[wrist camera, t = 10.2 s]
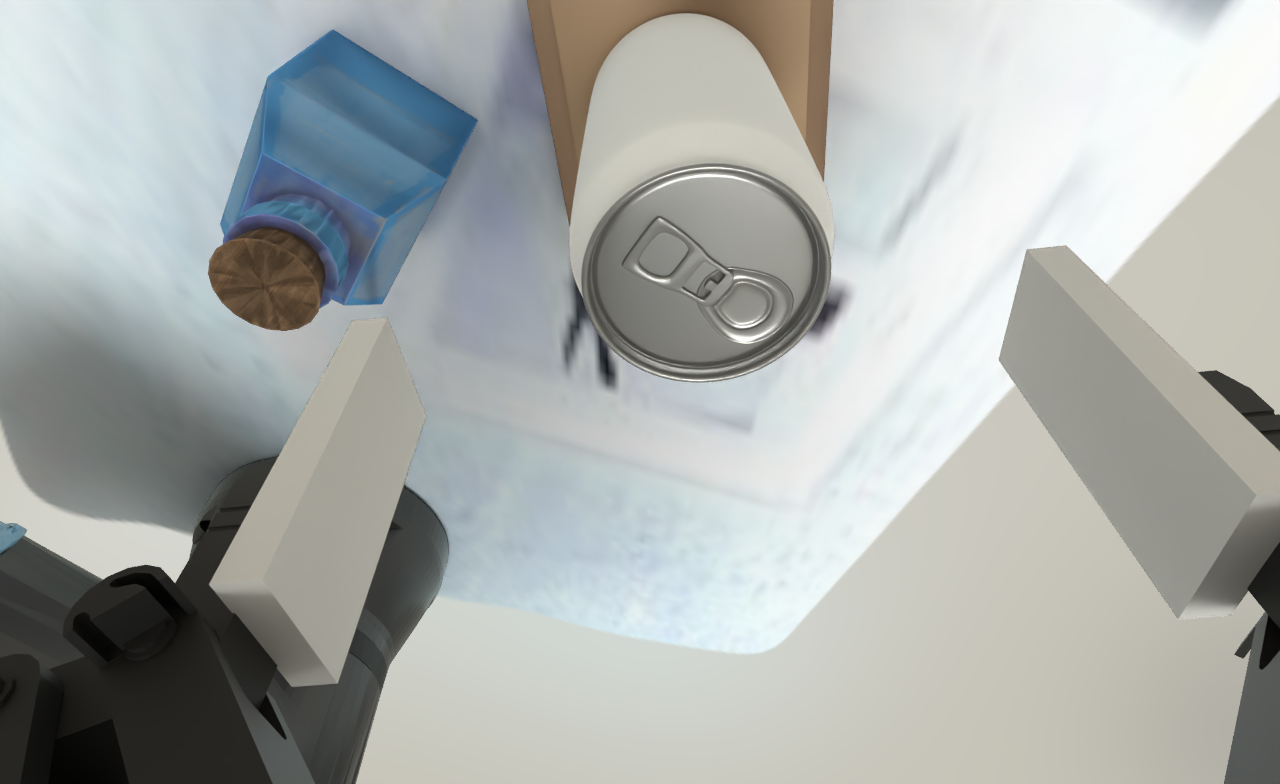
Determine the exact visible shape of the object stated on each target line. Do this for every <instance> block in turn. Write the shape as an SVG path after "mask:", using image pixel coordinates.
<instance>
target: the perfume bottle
mask: <svg viewBox="0 0 1280 784" xmlns="http://www.w3.org/2000/svg"><path fill="white" fill-rule="evenodd" d="M477 121H478V120H477V119H475V118H474V117H472V116H471V115H469V114H467V113H466V112H464V111H463V110H461V109H459V108H458V107H456V106H455V105H453V104H451V103H450V102H448V101H447V100H445V99H443V98H442V97H440V96H438V95H437V94H435V93H434V92H432V91H430V90H429V89H427V88H426V87H424V86H422V85H421V84H419V83H418V82H416V81H414V80H413V79H411V78H410V77H408V76H406V75H405V74H403V73H402V72H400V71H398V70H397V69H395V68H394V67H392V66H390V65H389V64H387V63H386V62H384V61H382V60H381V59H379V58H378V57H376V56H374V55H373V54H371V53H370V52H368V51H366V50H365V49H363V48H362V47H360V46H358V45H357V44H355V43H354V42H352V41H350V40H349V39H347V38H346V37H344V36H342V35H341V34H339V33H338V32H336V31H334V30H333V29H332V30H331V31H330V32H328V33H327V34H326V35H324V36H323V37H321V38H320V39H319V40H317V41H316V42H315V43H313V44H312V45H310V46H309V47H308V48H306V49H305V50H304V51H302V52H301V53H299V54H298V55H297V56H295V57H294V58H292V59H291V60H290V61H288V62H287V63H286V64H284V65H283V66H281V67H280V68H279V69H277V70H276V71H275V72H273V73H272V74H270V75H269V76H268V78H267V81H266V84H265V87H264V90H263V93H262V96H261V100H260V103H259V106H258V109H257V112H256V115H255V118H254V121H253V124H252V127H251V130H250V133H249V137H248V140H247V143H246V146H245V149H244V152H243V155H242V158H241V161H240V164H239V167H238V171H237V174H236V177H235V180H234V183H233V186H232V189H231V192H230V195H229V198H228V201H227V204H226V208H225V211H224V214H223V217H222V220H221V223H220V225H221V228H222V231H223V234H224V238H223V245H222V246H220V247H218V248H217V249H216V250H215V252H214V253H213V255H212V257H211V258H210V260H209V270H208V275H209V278H210V282H211V285H212V288H213V290H214V291H215V293H216V294H217V296H218V297H219V299H220V300H221V302H222V303H223V304H224V305H225V306H226V307H227V308H229V309H230V310H231V311H232V312H233V313H234V314H235V315H237V316H239V317H240V318H242V319H244V320H245V321H247V322H249V323H250V324H253V325H256V326H259V327H262V328H265V329H270V330H280V331H287V330H292V329H298V328H300V327H302V326H304V325H306V324H308V323H310V322H311V321H312V319H313V318H314V317H315V315H316V314H317V313H318V310H319V308H321V307H323V306H324V305H326V304H328V303H329V302H330V300H331V299H332V300H334V301H336V302H338V303H340V304H343V305H372V304H382V303H383V301H384V299H385V298H386V296H387V294H388V292H389V290H390V288H391V286H392V284H393V282H394V280H395V278H396V276H397V275H398V273H399V271H400V269H401V267H402V265H403V263H404V261H405V259H406V257H407V255H408V253H409V252H410V250H411V248H412V246H413V244H414V242H415V240H416V238H417V236H418V234H419V232H420V230H421V229H422V227H423V225H424V223H425V221H426V219H427V217H428V215H429V213H430V211H431V209H432V207H433V206H434V204H435V202H436V200H437V198H438V196H439V194H440V192H441V190H442V188H443V186H444V184H445V183H446V181H447V179H448V177H449V175H450V173H451V171H452V169H453V167H454V165H455V163H456V161H457V159H458V158H459V156H460V154H461V152H462V150H463V148H464V146H465V144H466V142H467V140H468V138H469V136H470V134H471V132H472V131H473V129H474V127H475V125H476V123H477Z"/></svg>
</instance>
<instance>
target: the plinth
mask: <svg viewBox="0 0 1280 784" xmlns="http://www.w3.org/2000/svg"><path fill="white" fill-rule="evenodd" d="M833 1H834V0H527V4H528V10H529V15H530V20H531V26H532V31H533V36H534V41H535V47H536V52H537V57H538V62H539V68H540V73H541V78H542V84H543V89H544V94H545V99H546V105H547V110H548V115H549V121H550V126H551V131H552V136H553V142H554V147H555V152H556V157H557V163H558V168H559V173H560V179H561V184H562V189H563V194H564V200H565V205H566V210H567V215H568V221H569V226H570V222H571V213H572V207H573V200H574V193H575V187H576V181H577V175H578V169H579V163H580V157H581V151H582V145H583V139H584V133H585V128H586V122H587V116H588V111H589V105H590V100H591V95H592V91H593V87H594V84H595V81H596V78H597V75H598V73H599V71H600V68H601V66H602V65H603V63H604V61H605V59H606V58H607V56H608V55H609V53H610V52H611V51H612V49H613V48H614V47H615V46H616V45H617V44H618V42H619V41H620V40H621V39H623V38H624V37H625V36H626V35H627V34H628V33H630V32H631V31H632V30H634V29H635V28H637V27H639V26H640V25H642V24H644V23H646V22H648V21H650V20H653V19H656V18H659V17H662V16H666V15H671V14H680V13H692V14H701V15H706V16H710V17H713V18H716V19H718V20H721V21H723V22H725V23H727V24H729V25H731V26H732V27H734V28H735V29H737V30H738V31H739V32H741V33H742V34H743V35H744V36H745V37H746V38H747V39H748V40H749V41H750V42H751V43H752V44H753V45H754V46H755V48H756V49H757V50H758V52H759V53H760V55H761V56H762V58H763V60H764V61H765V63H766V65H767V67H768V69H769V70H770V72H771V74H772V76H773V78H774V80H775V82H776V84H777V86H778V88H779V90H780V92H781V94H782V96H783V98H784V100H785V102H786V104H787V106H788V108H789V110H790V112H791V114H792V116H793V119H794V121H795V123H796V125H797V127H798V129H799V131H800V133H801V135H802V137H803V139H804V141H805V143H806V145H807V147H808V150H809V152H810V154H811V156H812V158H813V160H814V162H815V164H816V167H817V169H818V171H819V173H820V175H821V178H822V180H823V183H824V166H825V147H826V129H827V111H828V92H829V74H830V56H831V37H832V19H833Z"/></svg>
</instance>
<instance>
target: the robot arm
mask: <svg viewBox="0 0 1280 784" xmlns="http://www.w3.org/2000/svg"><path fill="white" fill-rule="evenodd" d="M999 361H1000V363H1001V364H1002V366H1003V367H1004V369H1005V370H1006V371H1007V373H1008V374H1009V376H1010V377H1011V379H1012V380H1013V382H1014V383H1015V384H1016V386H1017V387H1018V389H1019V390H1020V392H1021V393H1022V394H1023V396H1024V397H1025V399H1026V400H1027V402H1028V403H1029V405H1030V406H1031V408H1032V409H1033V410H1034V412H1035V413H1036V415H1037V416H1038V418H1039V419H1040V420H1041V422H1042V423H1043V425H1044V426H1045V428H1046V429H1047V430H1048V432H1049V434H1050V435H1051V436H1052V438H1053V439H1054V441H1055V442H1056V444H1057V445H1058V447H1059V448H1060V449H1061V451H1062V452H1063V454H1064V455H1065V457H1066V458H1067V459H1068V461H1069V462H1070V464H1071V465H1072V467H1073V468H1074V470H1075V471H1076V473H1077V474H1078V475H1079V477H1080V478H1081V480H1082V481H1083V483H1084V484H1085V485H1086V487H1087V488H1088V490H1089V491H1090V493H1091V494H1092V496H1093V497H1094V499H1095V500H1096V501H1097V503H1098V504H1099V506H1100V507H1101V509H1102V510H1103V511H1104V513H1105V514H1106V516H1107V517H1108V519H1109V520H1110V522H1111V523H1112V525H1113V526H1114V527H1115V529H1116V530H1117V532H1118V533H1119V535H1120V536H1121V537H1122V539H1123V540H1124V542H1125V543H1126V545H1127V546H1128V548H1129V549H1130V551H1131V552H1132V553H1133V555H1134V556H1135V558H1136V559H1137V561H1138V562H1139V564H1140V565H1141V566H1142V568H1143V569H1144V571H1145V572H1146V574H1147V575H1148V577H1149V578H1150V579H1151V581H1152V582H1153V584H1154V585H1155V587H1156V588H1157V590H1158V591H1159V592H1160V594H1161V595H1162V597H1163V598H1164V600H1165V601H1166V603H1167V604H1168V605H1169V607H1170V608H1171V610H1172V611H1173V612H1174V614H1175V616H1176V617H1177V618H1178V619H1191V618H1204V617H1218V616H1230V615H1232V613H1233V612H1234V610H1235V609H1236V607H1237V606H1238V605H1239V603H1240V602H1241V600H1242V599H1243V597H1244V596H1245V595H1246V593H1247V592H1248V591H1249V592H1250V593H1251V594H1252V595H1253V597H1254V598H1255V599H1256V600H1257V601H1258V603H1259V604H1260V605H1261V606H1262V608H1263V609H1264V610H1265V611H1266V612H1265V613H1264V614H1263V616H1262V617H1261V618H1260V620H1259V621H1258V622H1257V624H1256V625H1255V626H1254V627H1253V629H1252V630H1251V631H1250V633H1249V634H1248V635H1247V637H1246V638H1245V639H1244V641H1243V642H1242V643H1241V645H1240V646H1239V648H1238V650H1237V651H1236V653H1235V655H1236V656H1239V657H1241V658H1244V657H1245V656H1246V654H1247V653H1248V652H1249V650H1250V649H1251V652H1250V657H1249V662H1248V667H1247V673H1246V677H1245V682H1244V687H1243V692H1242V697H1241V702H1240V707H1239V712H1238V717H1237V722H1236V726H1235V732H1234V736H1233V741H1232V746H1231V751H1230V756H1229V761H1228V766H1227V771H1226V776H1225V781H1224V784H1280V415H1275V414H1274V410H1273V409H1272V408H1271V407H1270V406H1269V405H1268V404H1267V403H1266V402H1265V401H1264V400H1262V399H1261V398H1260V397H1259V396H1258V395H1257V394H1256V393H1255V392H1254V391H1253V390H1251V389H1250V388H1249V387H1247V386H1244V385H1243V384H1241V383H1239V382H1237V381H1235V380H1234V379H1231V378H1230V377H1228V376H1226V375H1224V374H1222V373H1220V372H1218V371H1205V372H1197V371H1196V370H1195V369H1194V368H1193V367H1192V366H1191V365H1190V364H1189V363H1188V362H1187V361H1185V360H1184V359H1183V358H1182V357H1181V356H1180V355H1179V354H1178V353H1177V352H1176V351H1175V350H1174V349H1173V348H1172V347H1171V346H1170V345H1169V344H1168V343H1167V342H1166V341H1165V340H1164V339H1163V338H1162V337H1160V335H1158V334H1157V333H1156V332H1155V331H1154V330H1153V329H1152V328H1151V327H1150V326H1149V325H1148V324H1147V323H1146V322H1145V321H1144V320H1143V319H1142V318H1141V317H1140V316H1139V315H1138V314H1137V313H1136V312H1135V311H1134V310H1133V309H1131V307H1129V306H1128V305H1127V304H1126V303H1125V302H1124V301H1123V300H1122V299H1121V298H1120V297H1119V296H1118V295H1117V294H1116V293H1115V292H1114V291H1113V290H1112V289H1111V288H1110V287H1109V286H1108V285H1107V284H1106V283H1105V282H1104V281H1103V280H1101V279H1100V278H1099V277H1098V276H1097V275H1096V274H1095V273H1094V272H1093V271H1092V270H1091V269H1090V268H1089V267H1088V266H1087V265H1086V264H1085V263H1084V262H1083V261H1082V260H1081V259H1080V258H1079V257H1078V256H1077V255H1076V254H1075V253H1073V252H1072V251H1071V250H1070V249H1069V248H1068V247H1067V246H1066V245H1065V246H1056V247H1046V248H1037V249H1027V251H1026V254H1025V258H1024V262H1023V266H1022V270H1021V274H1020V278H1019V282H1018V286H1017V290H1016V294H1015V298H1014V302H1013V306H1012V309H1011V313H1010V317H1009V321H1008V325H1007V329H1006V333H1005V337H1004V341H1003V345H1002V349H1001V353H1000V357H999ZM425 419H426V413H425V410H424V408H423V405H422V403H421V400H420V398H419V395H418V393H417V390H416V388H415V385H414V383H413V380H412V378H411V375H410V373H409V370H408V368H407V365H406V363H405V360H404V358H403V355H402V353H401V350H400V347H399V345H398V342H397V340H396V337H395V335H394V332H393V330H392V327H391V325H390V322H389V320H388V317H384V318H375V319H365V320H356V321H352V322H351V324H350V326H349V328H348V329H347V331H346V333H345V335H344V337H343V339H342V340H341V342H340V344H339V346H338V348H337V350H336V352H335V353H334V355H333V357H332V359H331V361H330V363H329V364H328V366H327V368H326V370H325V372H324V374H323V375H322V377H321V379H320V381H319V383H318V385H317V386H316V388H315V390H314V392H313V394H312V396H311V398H310V399H309V401H308V403H307V405H306V407H305V409H304V410H303V412H302V414H301V416H300V418H299V420H298V421H297V423H296V425H295V427H294V429H293V431H292V432H291V434H290V436H289V438H288V440H287V442H286V444H285V445H284V447H283V449H282V451H281V453H280V455H279V456H278V458H271V459H266V460H261V461H257V462H254V463H251V464H248V465H246V466H243V467H241V468H239V469H237V470H235V471H234V472H232V473H231V474H229V475H228V476H227V477H225V478H224V479H223V480H222V481H221V482H220V484H219V485H218V486H217V487H216V489H215V491H214V492H213V494H212V495H211V497H210V499H209V500H208V502H207V504H206V505H205V507H204V508H203V510H202V512H201V513H200V515H199V517H198V520H197V522H196V525H195V529H194V534H193V545H192V549H191V553H190V558H189V561H188V562H187V564H186V566H185V568H184V569H183V571H182V573H181V574H180V576H179V578H178V579H177V581H176V583H174V582H173V581H172V580H171V578H170V577H169V576H168V575H167V574H166V573H165V572H164V571H163V570H162V569H161V568H160V567H155V566H150V565H143V566H137V567H132V568H127V569H125V570H122V571H120V572H118V573H115V574H113V575H111V576H108V577H107V578H105V579H104V580H103V579H101V578H99V577H97V576H95V575H94V574H92V573H90V572H88V571H86V570H85V569H83V568H81V567H79V566H77V565H75V564H74V563H72V562H70V561H68V560H67V559H65V558H63V557H61V556H59V555H58V554H56V553H54V552H52V551H50V550H49V549H47V548H45V547H43V546H41V545H39V544H38V543H36V542H34V541H32V540H31V539H29V538H27V537H26V536H24V535H25V533H26V531H27V530H26V529H25V528H23V527H22V526H20V525H18V524H14V523H11V524H5V523H2V522H0V784H356V781H357V777H358V774H359V770H360V766H361V763H362V759H363V756H364V752H365V748H366V745H367V741H368V738H369V734H370V730H371V727H372V723H373V720H374V716H375V712H376V709H377V705H378V702H379V698H380V694H381V691H382V688H383V684H384V681H385V677H386V674H387V671H388V668H389V666H390V664H391V662H392V660H393V659H394V657H395V656H396V655H397V653H398V652H399V650H400V649H401V647H402V646H403V644H404V643H405V642H406V640H407V639H408V637H409V636H410V634H411V633H412V631H413V630H414V628H415V627H416V625H417V624H418V622H419V621H420V619H421V618H422V616H423V615H424V613H425V611H426V610H427V608H429V606H430V605H431V604H432V602H433V601H434V599H435V598H436V596H437V594H438V591H439V589H440V586H441V583H442V580H443V576H444V572H445V568H446V564H447V560H448V553H449V550H448V541H447V537H446V534H445V532H444V529H443V527H442V525H441V524H440V522H439V520H438V519H437V518H436V516H435V515H434V513H433V512H432V511H431V510H430V509H429V508H428V507H427V506H426V505H425V504H424V503H423V502H422V501H421V500H420V499H419V498H418V497H416V496H415V495H414V494H412V493H411V492H410V491H408V490H407V489H405V488H404V487H403V485H404V482H405V479H406V476H407V473H408V470H409V467H410V464H411V461H412V458H413V455H414V452H415V449H416V446H417V443H418V440H419V437H420V434H421V431H422V428H423V425H424V422H425Z"/></svg>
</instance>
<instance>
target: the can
mask: <svg viewBox="0 0 1280 784" xmlns="http://www.w3.org/2000/svg"><path fill="white" fill-rule="evenodd" d="M833 247H834V219H833V213H832V208H831V203H830V199H829V196H828V193H827V190H826V188H825V185H824V183H823V180H822V178H821V175H820V173H819V171H818V169H817V167H816V164H815V162H814V160H813V158H812V156H811V154H810V152H809V150H808V147H807V145H806V143H805V141H804V139H803V137H802V135H801V133H800V131H799V129H798V127H797V125H796V123H795V121H794V119H793V116H792V114H791V112H790V110H789V108H788V106H787V104H786V102H785V100H784V98H783V96H782V94H781V92H780V90H779V88H778V86H777V84H776V82H775V80H774V78H773V76H772V74H771V72H770V70H769V69H768V67H767V65H766V63H765V61H764V60H763V58H762V56H761V55H760V53H759V52H758V50H757V49H756V48H755V46H754V45H753V44H752V43H751V42H750V41H749V40H748V39H747V38H746V37H745V36H744V35H743V34H742V33H741V32H739V31H738V30H737V29H735V28H734V27H732V26H731V25H729V24H727V23H725V22H723V21H721V20H718V19H716V18H713V17H710V16H706V15H701V14H692V13H680V14H671V15H666V16H662V17H659V18H656V19H653V20H650V21H648V22H646V23H644V24H642V25H640V26H639V27H637V28H635V29H634V30H632V31H631V32H630V33H628V34H627V35H626V36H625V37H624V38H623V39H621V40H620V41H619V42H618V44H617V45H616V46H615V47H614V48H613V49H612V51H611V52H610V53H609V55H608V56H607V58H606V59H605V61H604V63H603V65H602V66H601V68H600V71H599V73H598V75H597V78H596V81H595V84H594V87H593V91H592V95H591V100H590V105H589V111H588V116H587V122H586V128H585V133H584V139H583V145H582V151H581V157H580V163H579V169H578V175H577V181H576V187H575V193H574V200H573V207H572V213H571V222H570V232H569V250H570V260H571V266H572V271H573V275H574V278H575V281H576V284H577V286H578V289H579V291H580V293H581V295H582V297H583V300H584V304H585V307H586V310H587V313H588V316H589V318H590V320H591V322H592V324H593V326H594V328H595V329H596V331H597V332H598V334H599V335H600V337H601V338H602V339H603V340H604V342H605V343H606V344H607V345H608V346H609V347H610V348H611V349H612V350H613V351H614V352H615V353H616V354H618V355H619V356H620V357H621V358H623V359H624V360H626V361H627V362H628V363H630V364H632V365H633V366H635V367H637V368H639V369H641V370H643V371H645V372H648V373H650V374H653V375H656V376H659V377H662V378H666V379H670V380H676V381H683V382H715V381H722V380H728V379H732V378H737V377H740V376H743V375H746V374H749V373H752V372H754V371H757V370H759V369H761V368H763V367H765V366H767V365H769V364H771V363H772V362H774V361H776V360H777V359H779V358H780V357H782V356H783V355H784V354H786V353H787V352H788V351H789V350H791V349H792V348H793V347H794V346H795V345H796V344H797V343H798V342H799V341H800V340H801V339H802V338H803V337H804V336H805V335H806V333H807V332H808V331H809V329H810V328H811V327H812V325H813V324H814V322H815V321H816V319H817V317H818V316H819V314H820V312H821V310H822V307H823V305H824V303H825V300H826V297H827V294H828V290H829V285H830V279H831V258H832V253H833Z"/></svg>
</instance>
